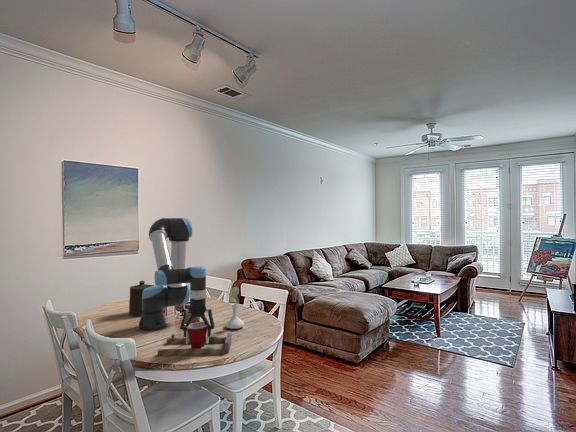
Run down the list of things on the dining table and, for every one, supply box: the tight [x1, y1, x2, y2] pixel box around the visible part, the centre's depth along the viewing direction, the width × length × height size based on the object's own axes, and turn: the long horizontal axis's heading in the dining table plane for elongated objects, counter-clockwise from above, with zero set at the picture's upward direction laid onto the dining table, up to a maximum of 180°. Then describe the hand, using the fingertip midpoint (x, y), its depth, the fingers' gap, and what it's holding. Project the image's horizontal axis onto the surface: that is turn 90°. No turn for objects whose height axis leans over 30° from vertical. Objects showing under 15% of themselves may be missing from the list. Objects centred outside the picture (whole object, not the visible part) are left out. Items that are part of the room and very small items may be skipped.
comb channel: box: [157, 333, 227, 357], centre depth 163 cm, size 31×16×4 cm, turn 95°
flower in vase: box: [224, 285, 245, 330], centre depth 194 cm, size 13×11×25 cm
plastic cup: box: [185, 321, 208, 349], centre depth 163 cm, size 11×11×12 cm
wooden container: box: [128, 280, 154, 318], centre depth 221 cm, size 15×15×22 cm
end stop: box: [224, 332, 232, 354], centre depth 164 cm, size 2×13×5 cm, turn 5°
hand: (197, 343), depth 163 cm, fingers closed on plastic cup, 9 cm apart
